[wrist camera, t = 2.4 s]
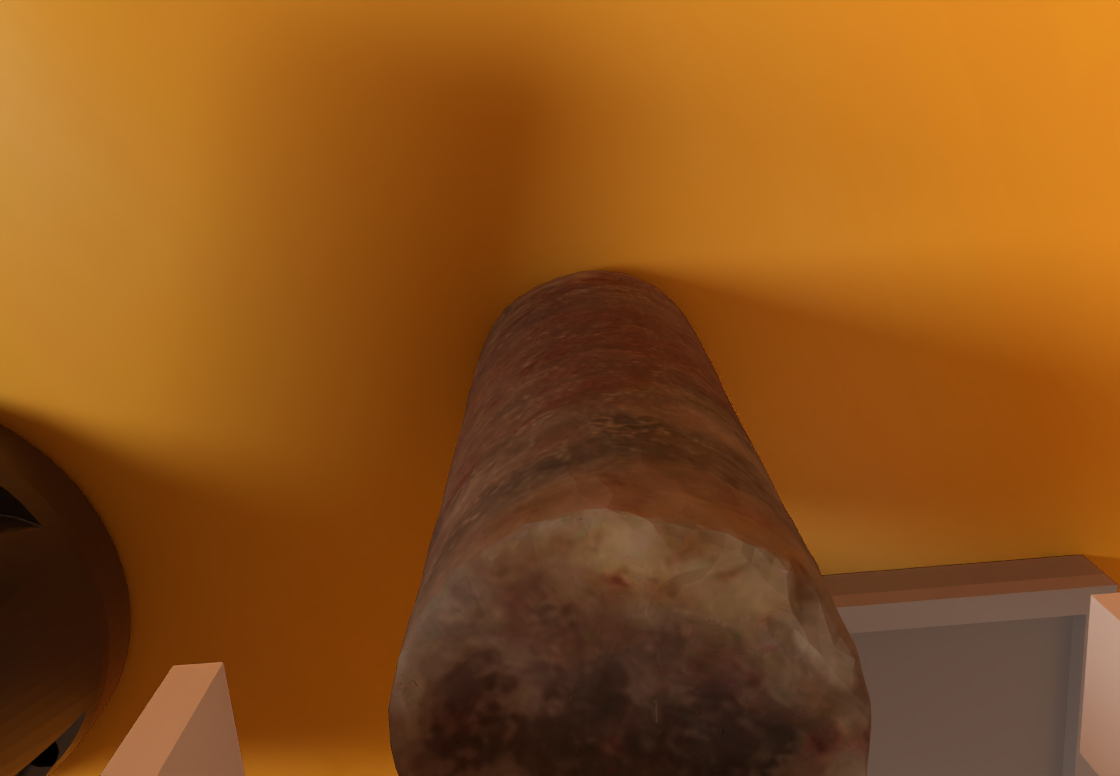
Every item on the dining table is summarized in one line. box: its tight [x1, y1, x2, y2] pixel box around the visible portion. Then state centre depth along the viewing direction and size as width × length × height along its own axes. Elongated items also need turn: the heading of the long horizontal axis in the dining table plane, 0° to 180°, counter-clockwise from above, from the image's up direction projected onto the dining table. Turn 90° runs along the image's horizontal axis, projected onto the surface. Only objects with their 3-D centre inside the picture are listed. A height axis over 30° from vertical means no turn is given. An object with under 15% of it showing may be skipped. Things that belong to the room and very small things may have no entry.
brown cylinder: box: [388, 270, 872, 776], centre depth 24 cm, size 8×7×20 cm
